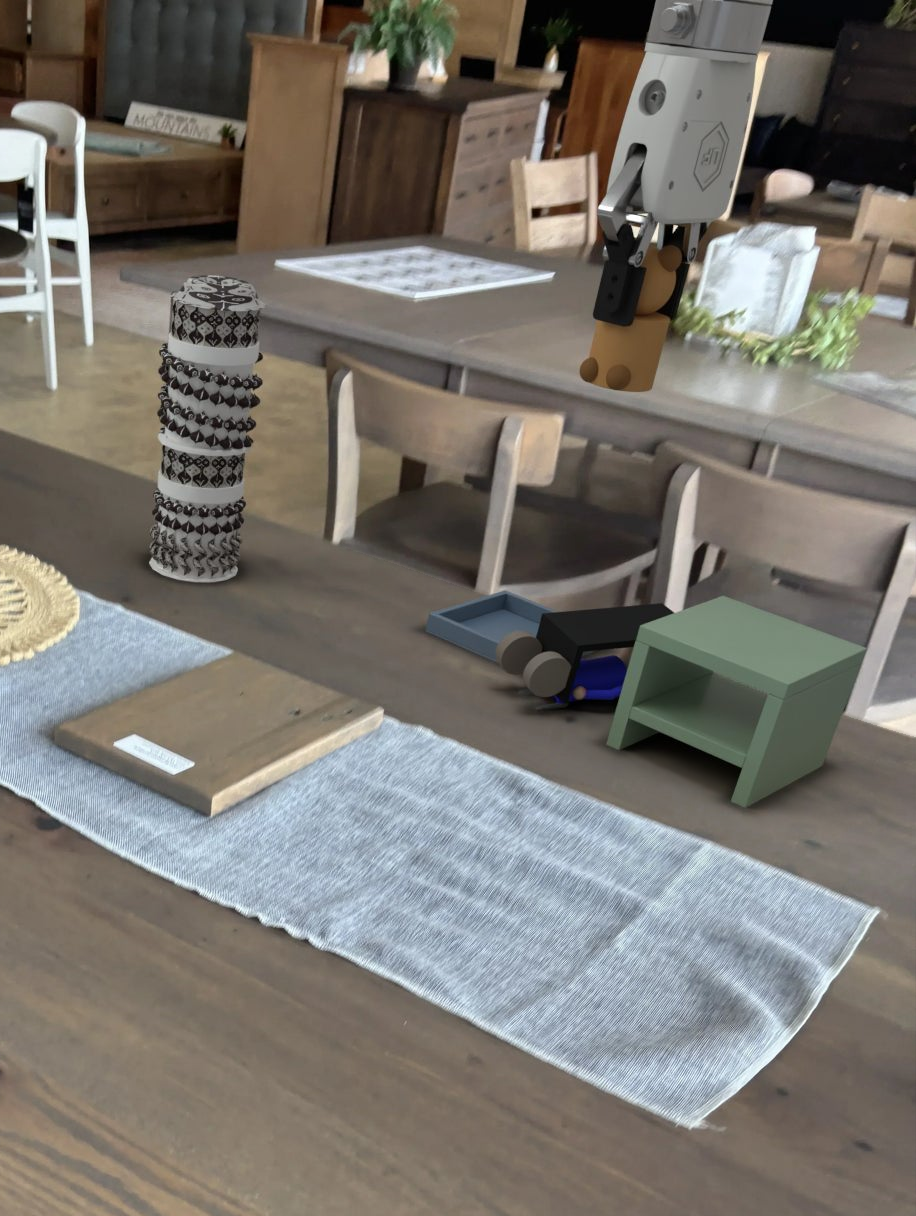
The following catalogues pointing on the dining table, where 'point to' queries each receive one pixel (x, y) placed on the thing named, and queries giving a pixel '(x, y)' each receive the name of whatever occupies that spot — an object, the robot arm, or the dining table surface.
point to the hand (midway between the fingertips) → (634, 317)
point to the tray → (487, 621)
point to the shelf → (738, 691)
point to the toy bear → (635, 331)
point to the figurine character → (576, 652)
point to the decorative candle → (205, 428)
